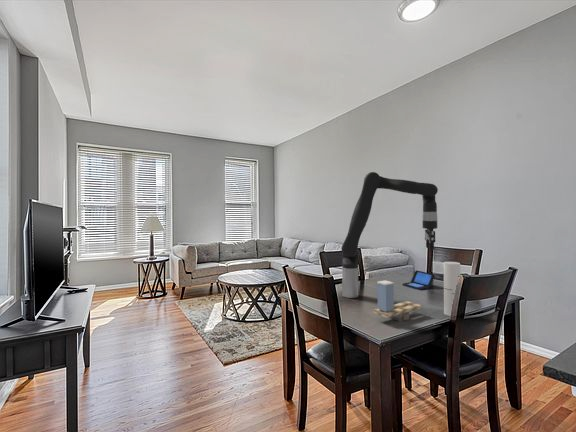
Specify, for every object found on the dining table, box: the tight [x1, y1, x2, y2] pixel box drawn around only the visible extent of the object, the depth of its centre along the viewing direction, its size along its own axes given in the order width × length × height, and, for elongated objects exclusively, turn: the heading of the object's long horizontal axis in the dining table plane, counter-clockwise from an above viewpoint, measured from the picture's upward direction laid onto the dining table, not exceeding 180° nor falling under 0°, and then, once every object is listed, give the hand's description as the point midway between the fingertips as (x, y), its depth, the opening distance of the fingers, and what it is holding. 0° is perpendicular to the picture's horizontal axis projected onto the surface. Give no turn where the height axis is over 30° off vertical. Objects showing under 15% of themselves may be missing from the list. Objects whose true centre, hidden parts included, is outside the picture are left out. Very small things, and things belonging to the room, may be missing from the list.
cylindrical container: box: [442, 261, 461, 317], centre depth 148 cm, size 7×7×25 cm
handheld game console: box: [402, 270, 435, 291], centre depth 201 cm, size 16×13×9 cm
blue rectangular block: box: [376, 280, 395, 312], centre depth 140 cm, size 5×5×14 cm
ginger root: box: [372, 300, 422, 323], centre depth 144 cm, size 24×8×5 cm, turn 120°
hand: (429, 248), depth 170 cm, fingers open, 8 cm apart
